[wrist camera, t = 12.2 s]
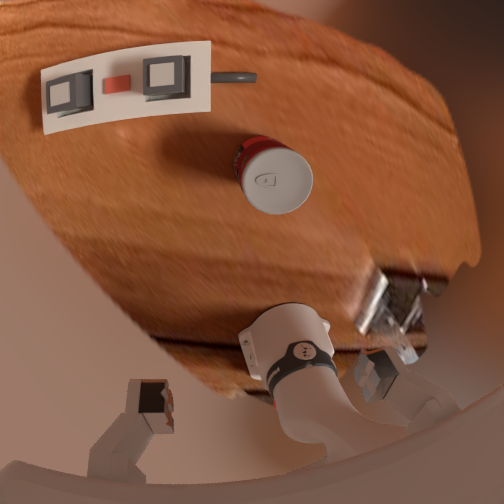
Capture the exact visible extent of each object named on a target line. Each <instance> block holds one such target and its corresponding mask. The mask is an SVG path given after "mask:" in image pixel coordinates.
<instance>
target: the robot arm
mask: <svg viewBox="0 0 504 504" xmlns="http://www.w3.org/2000/svg"><path fill="white" fill-rule="evenodd" d="M329 329H330V324H329V322H328V321H327V320H324V319H322V318H320V317H319V316H318V314H317V313H316V311H315V310H313V309H312V308H311V307H309V306H306V305H303V304H297V303H291V304H284V305H280V306H277V307H274V308H272V309H270V310H268V311H266V312H265V313H263V314H262V315H261V316H259V317H258V318H257V319H256V321H255V322H254V323H253V324H252V325H251V326H250V327H248V328H246V329H244V330H243V331H241V332H240V333H239V334H238V339H239V342H240V345H241V348H242V351H243V354H244V357H245V360H246V363H247V367H248V370H249V373H250V375H251V377H252V378H254V379H258V380H262V384H263V388H264V389H266V390H269V393H270V394H271V396H272V398H273V399H274V407H275V409H277V411H278V415H279V418H280V422H281V426H282V429H283V431H284V432H285V433H286V434H287V435H288V436H289V437H290V438H292V439H293V440H296V441H299V442H305V443H324V444H325V445H326V447H327V451H328V455H327V456H325V457H324V458H322V459H319V460H317V461H315V462H313V463H310V464H308V465H305V466H303V467H300V468H298V469H296V470H293V471H290V472H287V473H285V474H283V475H277V476H271V477H265V478H259V479H251V480H242V481H233V482H222V483H207V484H146V475H145V474H144V473H143V472H142V471H141V470H140V469H139V468H138V467H137V466H136V465H135V464H136V463H137V461H138V460H139V458H140V457H141V455H142V453H143V452H144V450H145V449H146V447H147V446H148V444H149V443H150V441H151V440H152V438H153V436H154V434H174V420H173V417H172V415H171V414H172V412H173V411H174V409H173V407H174V405H173V397H172V393H171V390H170V389H169V384H168V381H167V379H130V381H129V384H128V391H127V399H126V408H125V413H121V414H120V415H119V417H118V418H117V419H116V420H115V421H114V422H113V423H112V425H111V426H110V427H109V428H108V429H107V430H106V432H105V433H104V434H103V435H102V436H101V437H100V438H99V440H98V441H97V442H96V443H95V444H94V445H93V446H92V448H91V449H90V454H89V462H88V472H87V477H84V476H78V475H73V474H68V473H63V472H59V471H55V470H50V469H46V468H42V467H38V466H35V465H32V464H28V463H25V462H22V461H16V460H15V461H12V462H11V463H9V464H8V465H6V466H5V467H4V468H3V469H2V470H1V471H0V504H504V384H502V385H500V386H499V387H497V388H496V389H494V390H493V391H491V392H490V393H488V394H487V395H485V396H483V397H482V398H480V399H479V400H477V401H475V402H474V403H472V404H470V405H469V406H467V407H465V408H464V409H462V410H461V409H460V408H459V406H458V404H457V403H456V401H455V400H454V398H453V397H452V395H451V394H450V392H449V391H448V390H446V389H444V388H443V387H440V386H439V385H437V384H435V383H433V382H431V381H430V380H428V379H426V378H424V377H422V376H420V375H419V374H417V373H415V372H413V371H409V370H408V369H407V367H406V366H405V364H404V363H403V361H402V360H401V358H400V357H399V355H398V354H397V352H396V350H395V349H394V348H393V347H392V346H390V347H386V348H383V349H378V350H374V351H370V352H366V353H363V354H361V355H360V358H359V360H360V363H359V364H358V365H357V366H356V368H355V378H356V381H357V383H358V385H360V386H361V387H363V390H362V393H363V396H364V398H365V400H366V401H367V403H371V402H374V401H378V400H381V399H383V400H384V401H385V402H387V403H388V404H389V405H391V406H392V407H393V408H395V409H396V410H398V411H399V412H400V413H401V414H403V415H404V416H405V417H407V418H408V419H409V420H411V422H410V423H409V424H408V426H403V425H396V424H394V425H393V424H383V423H379V422H375V421H372V420H370V419H368V418H366V417H365V416H363V415H362V414H360V413H359V412H358V411H357V410H356V409H355V408H354V407H353V406H352V404H351V403H350V401H349V399H348V398H347V396H346V394H345V392H344V391H343V389H342V387H341V385H340V383H339V381H338V378H337V370H336V366H335V364H334V362H333V361H332V356H333V354H334V349H333V346H332V344H331V341H330V338H329V336H328V331H329ZM245 340H246V341H245Z"/></svg>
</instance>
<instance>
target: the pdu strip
mask: <svg viewBox="0 0 504 504" xmlns="http://www.w3.org/2000/svg"><path fill="white" fill-rule="evenodd" d="M175 55H182V56H183V58H184V60H185V62H186V93H182V94H170V95H159V96H147V95H143V59H147V58H155V57H164V56H175ZM210 83H256V73H211V41H193V42H178V43H167V44H157V45H149V46H141V47H135V48H128V49H122V50H117V51H112V52H107V53H102V54H97V55H93V56H88V57H84V58H80V59H76V60H73V61H69V62H65V63H62V64H59V65H55V66H52V67H49V68H46V69H43V70H41V99H42V117H43V129H44V135H46V134H50V133H54V132H59V131H63V130H67V129H72V128H77V127H82V126H87V125H92V124H98V123H104V122H110V121H116V120H123V119H130V118H138V117H146V116H155V115H165V114H177V113H192V112H211V105H210Z"/></svg>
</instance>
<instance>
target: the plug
mask: <svg viewBox="0 0 504 504" xmlns="http://www.w3.org/2000/svg"><path fill="white" fill-rule="evenodd" d="M182 93H186V62H185V60H184V58H183V56H182V55H175V56H164V57H155V58H147V59H143V95H147V96H159V95H170V94H182Z"/></svg>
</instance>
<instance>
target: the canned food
mask: <svg viewBox="0 0 504 504" xmlns="http://www.w3.org/2000/svg"><path fill="white" fill-rule="evenodd" d="M233 169H234V172H235V175H236V177H237V179H238V182H239V184H240V187H241V189H242V191H243V193H244V195H245V197H246V199H247V200H248V201H249V202H250V204H251V205H253V206H254V207H255V208H256V209H258V210H260V211H262V212H265V213H268V214H284V213H288V212H290V211H293V210H295V209H296V208H298V207H299V206H301V205H302V204H303V203H304V202H305V200H306V199H307V198H308V196H309V194H310V192H311V190H312V185H313V175H312V170H311V168H310V166H309V164H308V163H307V161H306V160H305V159H304V158H303V157H302V156H301V155H300V154H299V153H297V152H296V151H294V150H293V149H291V148H289V147H287V146H286V145H284V144H282V143H281V142H279V141H277V140H275V139H273V138H270V137H265V136H257V137H253V138H250V139H248V140H246V141H245V142H243V143H242V144H241V145H240V146H239V147H238V149H237V150H236V152H235V154H234V157H233Z"/></svg>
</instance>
